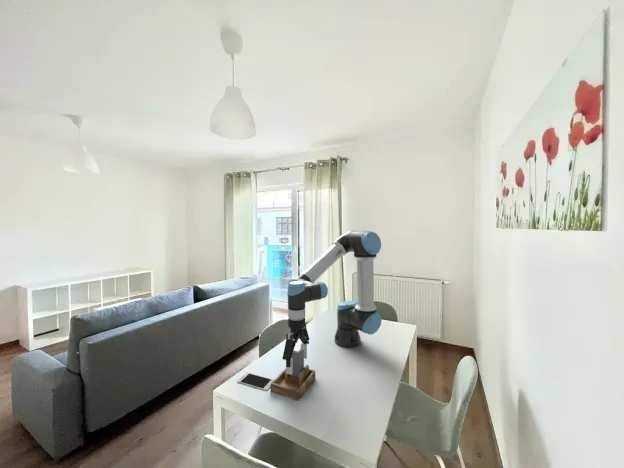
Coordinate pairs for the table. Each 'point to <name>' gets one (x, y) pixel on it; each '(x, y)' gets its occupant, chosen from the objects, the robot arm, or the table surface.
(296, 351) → the grey rectangular block
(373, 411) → the table surface
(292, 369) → the robot arm
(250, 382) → the smartphone
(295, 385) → the box
